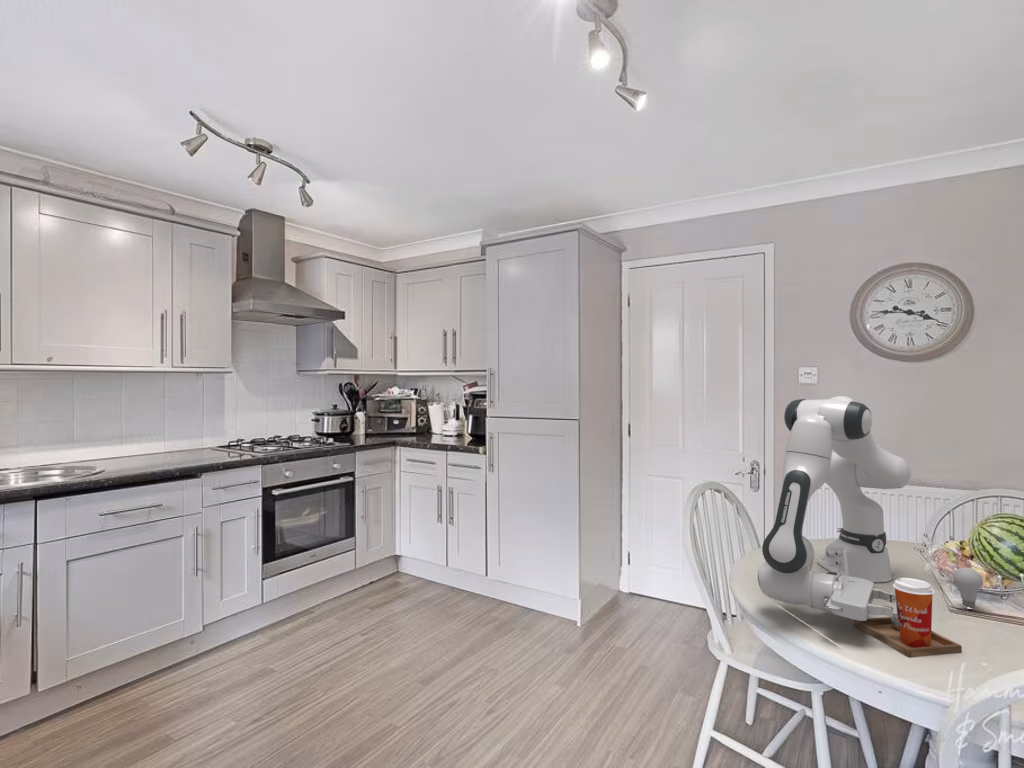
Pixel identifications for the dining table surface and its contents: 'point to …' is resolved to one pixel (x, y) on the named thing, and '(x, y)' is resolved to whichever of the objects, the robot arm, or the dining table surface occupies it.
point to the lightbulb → (968, 585)
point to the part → (895, 622)
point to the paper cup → (914, 611)
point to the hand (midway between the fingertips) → (894, 605)
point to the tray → (891, 637)
